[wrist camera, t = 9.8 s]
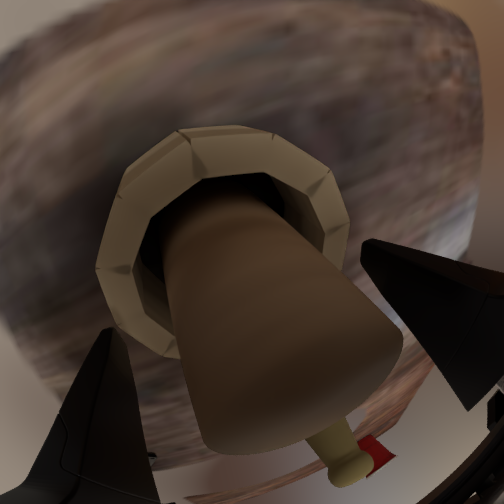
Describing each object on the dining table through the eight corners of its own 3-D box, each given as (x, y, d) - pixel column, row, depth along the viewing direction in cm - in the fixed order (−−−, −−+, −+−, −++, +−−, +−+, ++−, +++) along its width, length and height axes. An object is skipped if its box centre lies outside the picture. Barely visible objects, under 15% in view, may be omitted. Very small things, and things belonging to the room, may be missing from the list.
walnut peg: (235, 286, 15) (319, 439, 7) (143, 262, 12) (172, 460, 5) (282, 203, 13) (428, 329, 6) (186, 160, 10) (293, 306, 3)
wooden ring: (250, 322, 16) (273, 366, 13) (89, 287, 11) (81, 340, 9) (335, 182, 13) (381, 207, 11) (162, 89, 9) (168, 80, 6)
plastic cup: (381, 428, 61) (401, 456, 52) (352, 449, 62) (370, 476, 53) (374, 428, 55) (397, 459, 45) (341, 450, 56) (362, 482, 46)
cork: (284, 428, 28) (324, 498, 20) (301, 404, 26) (350, 484, 17) (324, 415, 31) (363, 477, 22) (343, 390, 28) (392, 459, 19)
